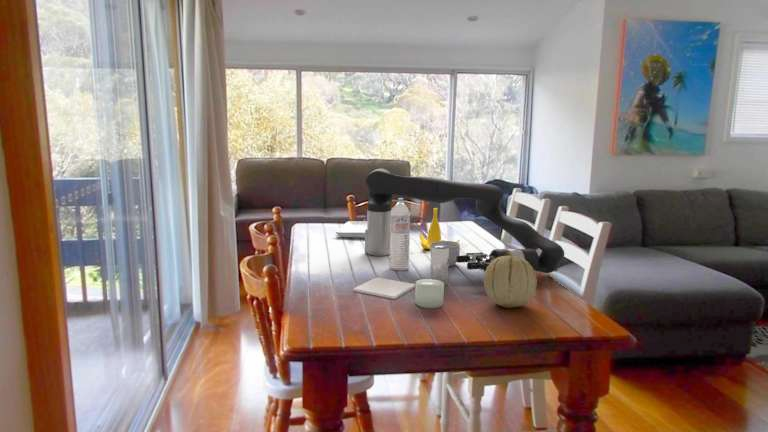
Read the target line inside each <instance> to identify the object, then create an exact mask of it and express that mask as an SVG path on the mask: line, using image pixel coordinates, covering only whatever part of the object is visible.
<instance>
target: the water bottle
mask: <svg viewBox="0 0 768 432" xmlns="http://www.w3.org/2000/svg"><path fill="white" fill-rule="evenodd" d="M397 201H398V202H397V203H396V204H395V205H393V206H392V207H391V232H390V254H389V268H390V270H393V271H397V272H399V271H400V272H401V271H407V270H408V269H409V266H410V245H411V243H410V242H411V241H410V240H411V239H410V238H411V237H410V236H411V233H410V229H411V225H410V224H411V209H410V207H409V206H408V205H407V204H406V203H404V198H403V197H399V198H398V199H397Z"/></svg>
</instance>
